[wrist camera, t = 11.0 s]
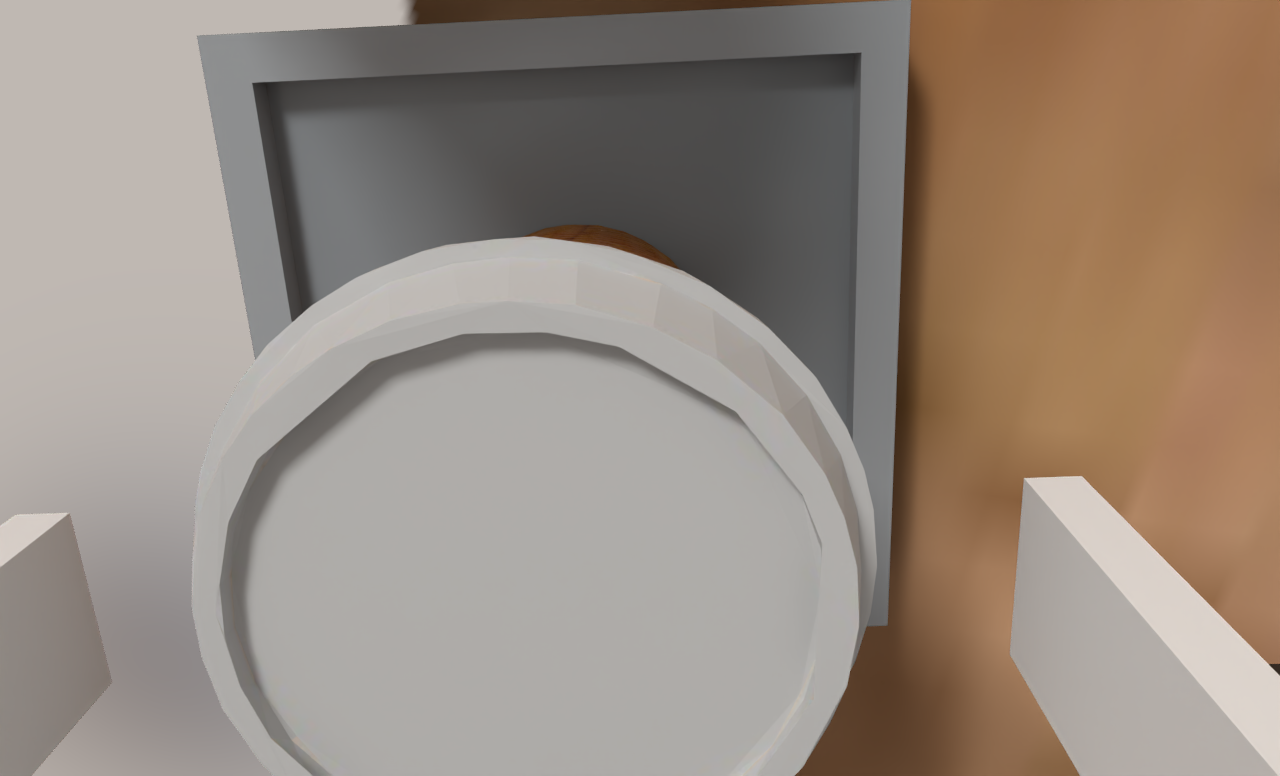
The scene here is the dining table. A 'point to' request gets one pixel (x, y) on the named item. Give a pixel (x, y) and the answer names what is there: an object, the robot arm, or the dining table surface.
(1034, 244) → the dining table surface
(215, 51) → the grey square tray
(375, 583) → the disposable coffee cup
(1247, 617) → the dining table surface
